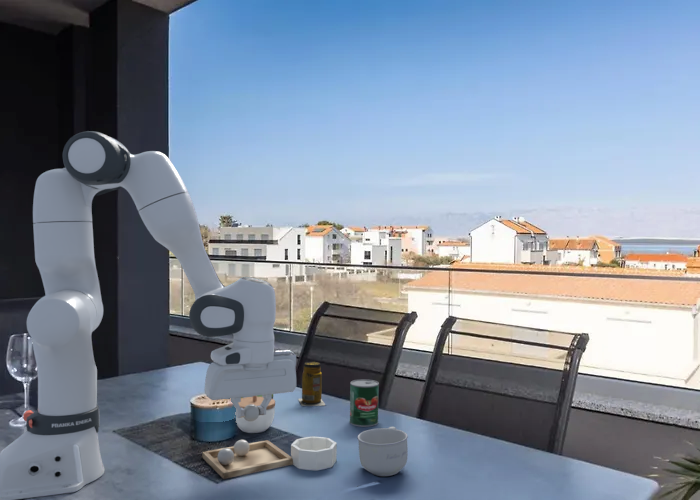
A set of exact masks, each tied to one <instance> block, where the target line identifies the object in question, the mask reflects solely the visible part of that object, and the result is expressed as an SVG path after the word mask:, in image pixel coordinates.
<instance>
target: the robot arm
mask: <svg viewBox="0 0 700 500" xmlns="http://www.w3.org/2000/svg"><path fill="white" fill-rule="evenodd" d="M62 161H63V165H64V167H63V168H54V169H50V170H46V171H45V172H43V173H41V174H40V175H39V176H38V177H37V179H36V181H35V186H34V192H33V202H32V203H33V204H32V223H33V224H32V226H33V228H32V229H33V243H34V259H35V263H36V266H37V269H38V270H39V274H40V277H41V281H42V285H43V288H44V293H45V295H43V296H42V297H41V298H40V299H38V300H37V301H36V302H35V303H34V305H33V306H32V308H31V309H30V311H29V312H28V314H27V317H26V330H27V332H28V335H29V337H31V341H32V342H31V343H32V349H33V353H34V359H35V363H36V364H35V365H36V371H37V410H35V411H33V410H31V409H29V410H26V411H24V413H23V415H22V417H23V420H24V422H26V424H25V425H26V431H25V432H23V434H21V435H20V436H19V437H17V438H16V439H14V440H13V442H11V443H9V445H7V446H6V447H4V448H3V449H2V450H1V451H0V500H22V499H29V498H39V497H46V496H54V495H60V494H61V495H62V494H70V493H75V492H78V491H79V490H80V489H82V488H83V487H84V486H86V485H88V484H89V483H92V482H94V481H96V480H97V479H99V478H101V477H102V476H103V475H104V473H105V469H106V468H105V466H104V462H103V459H102V455H101V450H100V449H101V448H100V445H99V444H100V443H99V442H100V441H99V434H98V433H99V431H100V421H101V420H100V419H101V418H100V417H101V416H100V407H99V405H98V398H97V397H98V369H97V366H96V362H95V357H94V350H93V341H92V334H93V332H95V330H96V329H97V328H98V327H99V326H100V324H101V322H102V319H103V316H104V304H103V300H102V294H101V285H100V280H99V277H98V276H99V275H98V270H97V266H96V258H95V248H94V247H95V245H94V229H93V214H92V208H93V207H92V206H93V205H92V204H93V200H94V197H95V196H101V195H104V194H107V193H110V192H113V191H117V190H120V189H121V188H123V189H124V190H126V192H128V194H129V195H130V197H131V199H132V201H133V203H134V204H135V206H136V210H137V212H138V214H139V217H140V218H141V220H142V222H143V224H144V226H145V228H146V229H147V231H148V232H149V234H150V235H151V236H152V237H153V239H154V240H155V241H156V242H157V243H159V244H160V245H162V246H163V247H165V248H166V249H167V250H168V251H170V253H172V255H174V256H175V258H176V260H177V261H178V262H179V264H180V266H181V268H182V269H183V272H184V274H185V276H186V279H187V280H188V283H189V285H190V287H191V289H192V290H193V293H194V298H195V300H194V301H193V303H192V305H191V307H190V309H189V314H188V317H189V318H188V319H189V323H190V325H191V328H192V329H193V330H194V331H195V332H196V333H197V334H199V335H201V336H202V337H206V338H218V337H222V336H229V335H230V336H231V335H232V336H233V339H232V340H233V341H232V342H231V343H229V344H227V345H224V346H221V347H219V348H216V349H214V350H212V351H211V353H210V359H211V360H212V361H213V362H211V363H210V364H209V365H208V367H207V370H206V374H205V382H204V394H205V396H206V397H207V398H209V400H211V401H218V400H223V399H230V398H231V402H232V403H233V405H234V407H235V408H236V412H235V415H236V417H237V418H242V417H245V414H244V413H245V409H243V408H240V406H239V404H238V402H241V397H249V396H259V395H262V397H263V398H264V399H263V401H262V403H261V405H259V406H257V407H258V409H259V415H266V407H267V406H268V404H269V403H270V401H271V399H272V394H273V395H276V394H286V393H293V392H295V390H296V388H297V372H296V371H297V370H296V367H297V356H296V354H295V353H294V352H293V351H292V350H288V349H285V350H275V334H274V326H275V322H276V314H277V313H276V311H277V310H276V308H277V307H276V306H277V301H276V292H275V288H274V287H273V285H272V284H271V283H270V282H268V281H266V280H264V279H260V278H256V277H249V276H243V277H240V278H239V279H238V280H237V279H236V281H234V282H232V283H231V284H228V285H226V286H225V285H224V284H223V282H222V281H221V280H220V278H219V276H218V274H217V272H216V269H215V268H214V265H213V264H212V262H211V259H210V257H209V255H208V253H207V250H206V248H205V246H204V241H203V238H202V237H203V236H202V233H201V229H200V223H199V219H198V215H197V212H196V209H195V206H194V203H193V202H194V201H193V200H192V197H191V195H190V192H189V191H188V188H187V186H186V183H185V182H184V180H183V178H182V176H181V175H180V174H179V172H178V170H177V169H176V167H175V165H174V164H173V162H172V161H171V160H170V158H169V157H168V156H167V155H166V154H165V153H163V152H161V151H156V150H149V151H143V152H141V153H137V154H132V152H131V150H130V149H128V148H127V147H126V146H125V145H124V144H123V143H121V142H120V141H119V140H118V139H116V138H114V137H111V136H108V135H107V134H104V133H102V132H99V131H93V130H92V131H89V130H87V131H82V132H79V133H76V134H75V135H73V136H71V137H70V138H69V139H68V140H67V142H66V143H65V145H64V147H63V151H62Z"/></svg>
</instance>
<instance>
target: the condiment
mask: <svg viewBox="0 0 700 500" xmlns="http://www.w3.org/2000/svg"><path fill="white" fill-rule="evenodd" d="M321 366H322V365H321V363H320V362H316V361H309V362H304V363H303V372H302V374H301V376H302V378H301V379H302V380H301V398H297V400H298V402H299V403H300V405H301V407H303V406H304V407H318V406H326V403H325V401H323V398H322V394H323V393H322V390H323V389H322V388H323V385H322V380H323V374H322V371H321V369H322V368H321Z"/></svg>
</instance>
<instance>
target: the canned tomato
mask: <svg viewBox="0 0 700 500" xmlns="http://www.w3.org/2000/svg"><path fill="white" fill-rule="evenodd" d="M379 385H380V383H379V381H377V380H373V379H354V380H352V381H350V391H349V393H350V395H349V424H350V425H352V426H355V427H360V428H361V427H362V428H369V427H375V426H376V425H378V424H379V394H380V393H379V391H380V390H379V387H380V386H379Z"/></svg>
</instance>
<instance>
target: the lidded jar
mask: <svg viewBox="0 0 700 500" xmlns="http://www.w3.org/2000/svg"><path fill="white" fill-rule="evenodd" d="M263 399H264V398H263V397H258V396H253V397H245V398H241V402H238V404H239V406H240V408H243V409H244V408H245V407H246V406H247V405H249V404H253V405H256V406H259V405H261V403H262V401H263ZM275 407H276V400H275V399H274V398H273V399H271V401H270V403H269V404H268V406H267V407H266V415H259V416H258V418H257V419H256V420H254V421H247V420H245V419H244V417H242V418H237V417H236V421H235V423H237V424H236V426H237V427H238V429H240V430H241V431H242V432H244V433H247V434H248V433H249V434H259V433H263V432H265V431H267V430H268V429H270V427H271V425H272V424H273V421H274V418H275V414H276V413H275V412H276V408H275Z"/></svg>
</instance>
